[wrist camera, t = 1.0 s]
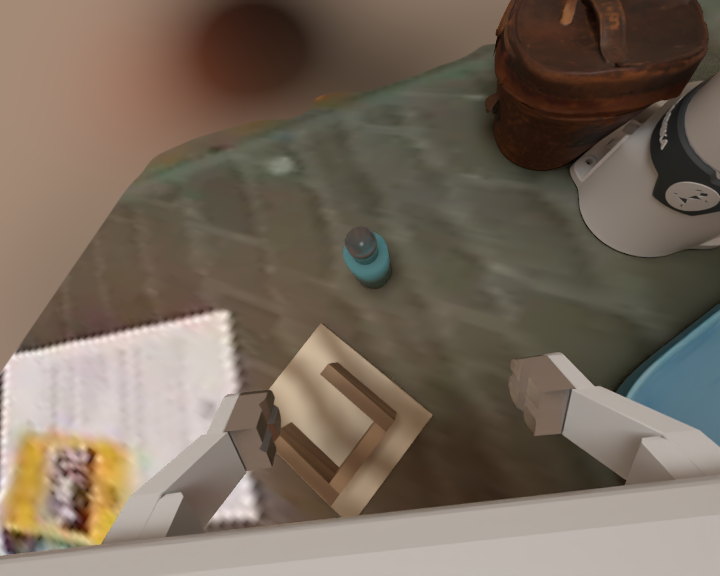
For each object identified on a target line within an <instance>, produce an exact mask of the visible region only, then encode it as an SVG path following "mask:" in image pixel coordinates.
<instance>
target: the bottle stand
mask: <svg viewBox="0 0 720 576" xmlns="http://www.w3.org/2000/svg"><path fill="white" fill-rule="evenodd" d="M269 390H271V391H272V392H273V394H274V397H275V400H274V405H275V406H277V407H278V408H279V411H280V415H281V431H280V436H279V437H278V438H277V439H276V441H275V442H274V443H275V445H276V448H277V449H276V452H277V453H278V454H279V455H280V456H281V457H282V458H283V459H284V460H285V461H286V462H287V463H288V464H289V465H290V466H291V467H292V468H293V469H294V470H295V471H296V472H297V473H298V474H299V475H300V476H301V477H302V478H303V479H304V480H305V481H306V482H307V483H308V484H309V485H310V486H311V487H312V488H313V489H314V490H315V491H316V492H317V493H318V494H319V495H320V496H321V497H322V498H323V499H324V500H325V501H326V502H327V503H328V504H329V505H330V506H331V507H332V508H333V509H334V510H335V511H336V512H337V513H338V514H339V515H340V516H341V517H349V516H358V515H359V514H360V513H361V511H362V510H363V509H364V507H365V506H366V505H367V503H368V502H369V501H370V499H371V498H372V497H373V495H374V494H375V492H376V491H377V490H378V488H379V487H380V486H381V484H382V483H383V482H384V480H385V479H386V478H387V476H388V475H389V474H390V472H391V471H392V470H393V468H394V467H395V465H396V464H397V463H398V461H399V460H400V459H401V457H402V456H403V455H404V453H405V452H406V451H407V449H408V448H409V447H410V445H411V444H412V442H413V441H414V440H415V438H416V437H417V436H418V434H419V433H420V432H421V430H422V429H423V428H424V426H425V425H426V424H427V422H428V421H429V419H430V418H431V417H432V413H431V412H430V411H428V410H427V409H426V408H425V407H424V406H422V405H421V404H420V403H419V402H417V401H416V400H415V399H414V398H413V397H411V396H410V395H409V394H408V393H407V392H405V391H404V390H403V389H402V388H400V387H399V386H398V385H397V384H396V383H394V382H393V381H392V380H391V379H389V378H388V377H387V376H386V375H385V374H383V373H382V372H381V371H380V370H379V369H377V368H376V367H375V366H374V365H372V364H371V363H370V362H369V361H368V360H366V359H365V358H364V357H363V356H362V355H360V354H359V353H358V352H357V351H355V350H354V349H353V348H352V347H351V346H349V345H348V344H347V343H346V342H344V341H343V340H342V339H341V338H340V337H338V336H337V335H336V334H335V333H334V332H332V331H331V330H330V329H329V328H327V327H326V326H325V325H324V324H322V323H321V324H320V325H319V326H318V328H317V329H316V330H315V332H314V333H313V334H312V335H311V337H310V338H309V339H308V340H307V342H306V343H305V344H304V346H303V347H302V348H301V349H300V351H299V352H298V353H297V354H296V356H295V357H294V358H293V360H292V361H291V362H290V363H289V365H288V366H287V367H286V369H285V370H284V371H283V372H282V374H281V375H280V376H279V377H278V379H277V380H276V381H275V383H274V384H273V385H272V386H271V388H270V389H269Z"/></svg>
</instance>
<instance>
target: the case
mask: <svg viewBox="0 0 720 576" xmlns="http://www.w3.org/2000/svg"><path fill="white" fill-rule="evenodd" d="M496 36H497V40H496V45H495V50H496V53H495V50H494V53H495V73H496V76H497V79H498V83H497V94H493V95H491V96H489V97H488V98H486V104H485V106H486V111H487V113H488V112H489V111H491V110H492V108H493V114H495V120H494V132H495V138H496V141H497V144H498V146H499V148H500V149H501V151H502V152H503V153H504V155H505V156H506V157H507V158H508V159H509V160H511V161H512V162H514V163H515V164H517V165H520V166H522V167H525V168H529V169H533V170H548V169H554V168H557V167H560V166H563V165H565V164H567V163H569V162H571V161H572V160H574V159H575V158H576V157H578V156H579V155H581V154H582V153H584V152H585V151H587V150H588V149H589V148H591V147H592V146H594V145H595V144H597V143H598V142H600V141H601V140H602V139H604V138H605V137H607V136H608V135H609V134H611V133H612V132H614V131H615V130H617V129H618V128H620V127H621V126H623V125H624V124H626V123H627V122H628V121H630V120H631V119H633V118H634V117H635V116H637V115H638V114H639V113H641V112H642V111H643V110H645V109H646V108H648V107H649V106H651V105H652V104H654V103H656V102H659V101H662V100H664V101H666V100H669V99H672V98H676V97H678V96H680V95H681V93H682V91H683V89H684V88H685V86H686V85H687V83H688V82H689V80H690V78H691V77H692V75H693V74H694V72H695V70H696V69H697V67H698V65H699V64H700V62H701V60H702V59H703V58H704V56H705V55H706V53H707V51H708V41H709V37H708V29H707V24H706V23H705V21H704V19H703V11H702V9H701V6H700V4H699V3H698V2H697V0H511V1H510V3H509V5H508V7H507V9H506V11H505V13H504V15H503V17H502V19H501V22H500V24H499V26H498V29H497V30H496ZM493 56H494V55H493Z"/></svg>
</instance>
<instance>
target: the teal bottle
mask: <svg viewBox="0 0 720 576" xmlns="http://www.w3.org/2000/svg"><path fill="white" fill-rule="evenodd" d="M343 256H344V260H345V262H346V264H347V266H348V267H349V268H350V270H351V271H352V273H353V274H354V275H355V277H356V278H357V280H358V281H359V282H360V283H361V284H362V285H363V286H365V287H367V288H371V289H375V288H379V287H382V286H383V285H385V284H386V283H387V282H388V281H389V279H390V277H391V273H392V268H391V263H390V259H389V254H388V249H387V245H386V243H385V241H384V239H383V238H382V237H381V236H380V235H379V234H377V233H375V232H373V231H372V230H371V229H369V228H367V227H363V226H360V227H356V228H353V229H352V230H351V231H349V233H348V234H347V236H346V238H345V246H344V250H343Z"/></svg>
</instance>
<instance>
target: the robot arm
mask: <svg viewBox="0 0 720 576" xmlns="http://www.w3.org/2000/svg"><path fill="white" fill-rule="evenodd" d="M586 162H589V163H590V165H589V164H587V163H586ZM570 174H571V177H572V179H573V181H574V183H575V184H576V186H577V188H578V193H579V206H580V211H581V214H582V217H583V219H584V221H585V223H586V224H587V226H588V227H589V229H590V230H591V231H592V233H593V234H594V235H595V236H596V237H597V238H599V239H600V240H601V241H602V242H604V243H605V244H607V245H608V246H610V247H612V248H614V249H616V250H618V251H620V252H623V253H626V254H629V255H634V256H640V257H660V256H666V255H670V254H673V253H676V252H679V251H682V250H686V249H713V248H716V247H718V246H720V71H719V72H718V73H717V74H716V75H714V76H712V77H710V78H708V79H706V80H705V81H694V82H690V83H687V85H686V86H685V88H684V89H683V91H682V93H681V95H680V96H678V97H676V98H672V99H669V100H666V101H664V100H662V101H659V102H656V103H654V104H652V105H651V106H649V107H648V108H646V109H645V110H643V111H642V112H641V113H639V114H638V115H637V116H635V117H634V118H633V119H631V120H630V121H628V122H627V123H626V124H624V125H623V126H621V127H620V128H618V129H617V130H615V131H614V132H612V133H611V134H609V135H608V136H607V137H605V138H604V139H602V140H601V141H600V142H598V143H597V144H595V145H594V146H593V147H592V148H590V149H589V150H588V151H587V152H586V153H585V154H584V155H582V156H581V157H580V158H579V159H578V160H577V161H576V162H574V163H573V164H572V165H571V167H570ZM510 369H511V370H512V372H513V373H514V374H513V375H512V376H511V377H510V378H509V390H510V395H511V397H512V400H513V402H514V404H515V405H516V407H517V408H519V409H520V410H522V411H524V420H525V422H526V423H527V425H528V427H529V428H530V430H531V431H532V433H533V435H534V436H539V435H550V434H561V433H563V434H562V435H563V436H565V437H566V438H568V439H569V440H570V441H572V442H573V443H575V444H576V445H577V446H579V447H580V448H582V449H583V450H584V451H586V452H587V453H589V454H590V455H591V456H593V457H594V458H596V459H597V460H598V461H600V462H601V463H602V464H604V465H605V466H607V467H608V468H609V469H611V470H612V471H614V472H615V473H616V474H618V475H619V476H621V477H622V478H623V479H625V480H626V483H625V485H623V486H614V487H605V488H596V489H588V490H579V491H570V492H561V493H552V494H543V495H535V496H526V497H517V498H508V499H500V500H491V501H482V502H474V503H465V504H456V505H447V506H439V507H430V508H421V509H412V510H403V511H394V512H385V513H376V514H367V515H358V516H349V517H340V518H331V519H323V520H314V521H305V522H296V523H287V524H278V525H269V526H261V527H252V528H243V529H234V530H225V531H216V532H206V530H205V529H204V527H205V526H206V524H207V523H208V522H209V520H210V519H211V518H212V516H213V515H214V514H215V513H216V511H217V510H218V509H219V507H220V506H221V505H222V504H223V502H224V501H225V500H226V498H227V497H228V496H229V494H230V493H231V492H232V491H233V489H234V488H235V487H236V485H237V484H238V483H239V481H240V480H241V479H242V478H243V476H244V475H245V474H246V471H250V470H257V469H263V468H270V467H272V465H273V461H274V457H275V453H276V449H277V448H276V445H275V443H274V442H275V441H276V439H277V438H278V437H279V436H280V431H281V415H280V411H279V408H278V407H277V406H275V405H274V400H275V397H274V394H273V392H272V391H271V390H264V391H254V392H245V393H238V394H228V395H227V396H225V397H224V399H223V401H222V403H221V405H220V407H219V409H218V411H217V413H216V415H215V417H214V420H213V422H212V424H211V426H210V428H209V430H208V432H207V434H206V435H202V436H200V437H199V438H198V439H197V440H196V441H195V442H193V443H192V444H191V445H190V446H189V447H188V448H186V449H185V450H184V451H183V452H182V453H181V454H179V455H178V456H177V457H176V458H175V459H174V460H172V461H171V462H170V463H169V464H168V465H167V466H165V467H164V468H163V469H162V470H161V471H160V472H158V473H157V474H156V475H155V476H154V477H152V478H151V479H150V480H149V481H148V482H147V483H145V484H144V485H143V486H142V487H141V488H140V489H138V490H137V491H136V492H135V493H134V494H133V495H131V496H130V498H129V499H128V501H127V503H126V504H125V506H124V507H123V509H122V511H121V512H120V514H119V516H118V517H117V519H116V521H115V522H114V524H113V526H112V527H111V529H110V531H109V532H108V534H107V535H106V537H105V539H104V540H103V542H102V544H101V545H92V546H83V547H75V548H66V549H57V550H48V551H39V552H31V553H22V554H13V555H4V556H0V576H720V447H719V446H718V445H716V444H715V443H714V442H713V441H712V440H711V439H709V438H708V437H707V436H706V435H705V434H704V433H702V432H701V431H700V430H698V429H696V428H694V427H691V426H689V425H687V424H685V423H682V422H680V421H678V420H675V419H673V418H671V417H669V416H666V415H664V414H662V413H660V412H657V411H655V410H653V409H651V408H648V407H646V406H644V405H642V404H639V403H637V402H635V401H632V400H630V399H628V398H626V397H623V396H621V395H619V394H617V393H614V392H612V391H610V390H608V389H605V388H603V387H601V386H596V387H595V386H594V385H593V384H592V383H591V382H590V381H589V380H588V379H587V378H586V377H585V376H584V375H583V374H582V373H581V372H580V371H579V370H578V369H577V368H576V367H575V366H574V365H573V364H572V363H571V362H570V361H569V360H568V359H567V358H566V357H565V356H564V355H563V354H562V353H560V352H556V353H550V354H543V355H537V356H530V357H522V358H515V359H512V361H511V365H510Z"/></svg>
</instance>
